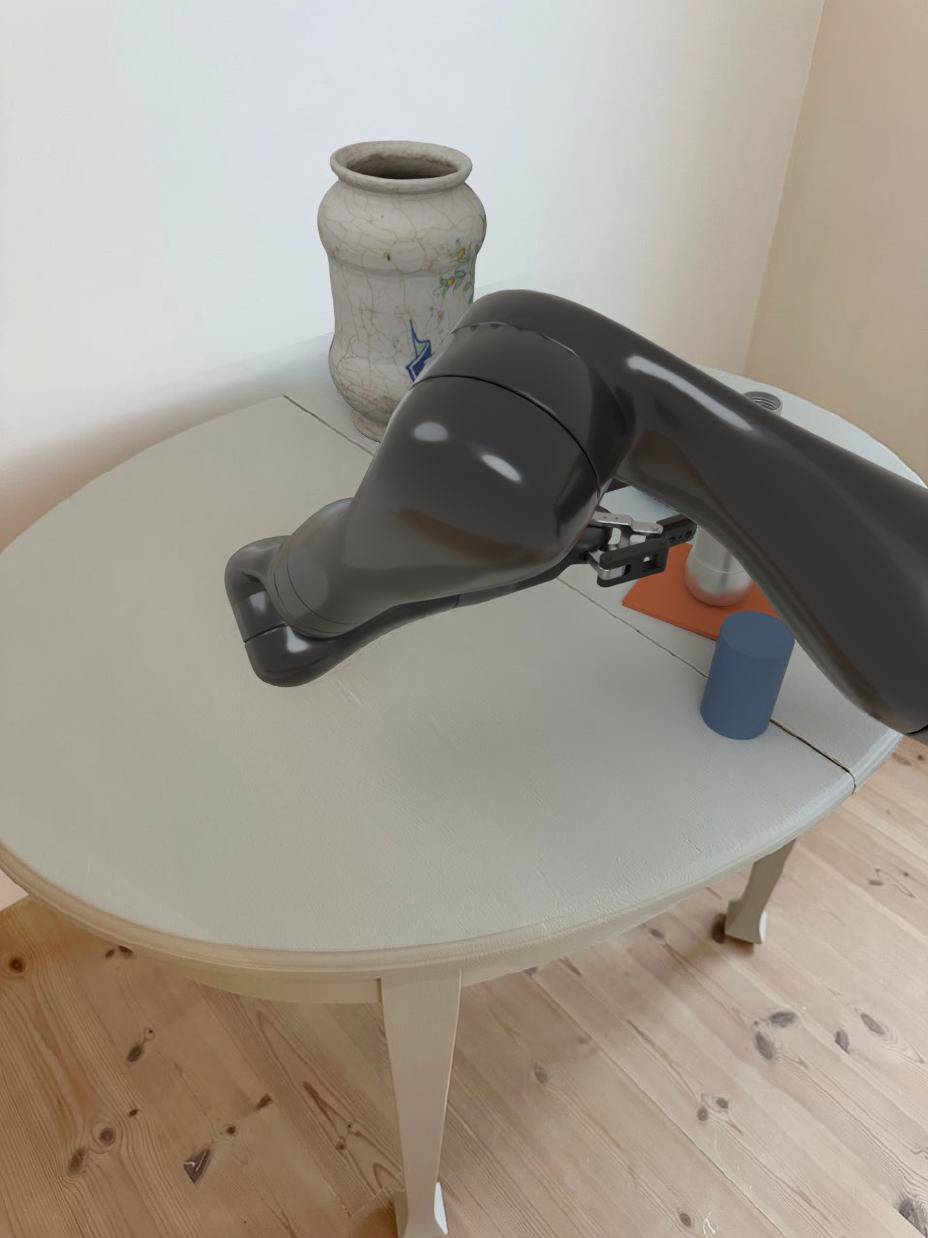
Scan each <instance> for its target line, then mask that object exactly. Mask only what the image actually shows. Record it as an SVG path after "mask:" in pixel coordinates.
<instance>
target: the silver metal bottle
mask: <svg viewBox="0 0 928 1238" xmlns="http://www.w3.org/2000/svg"><path fill="white" fill-rule="evenodd" d="M741 394H742V395H744V396H746V397H747V398H749V399H751V400H753V401H754V402H756V403H758V404H760V405H761V406H763V407H765V408H767V409H769V410H771V411H772V412H774V413H776V414H778V415H780V416H782V415H781V414H782V410H783V403H784V402H783V401H782V400H781V398H780V397H778V396H777V395H775V394H773V393H770V392H767V391H762V390H748V391H744V392H742V393H741ZM692 545H693V547H692V549H691V551H690V553H689V556H688V558H687V561H686V565H685V581H686V584H687V586H688V588H689V590H690V592H691V593H692V594H693V595H694V596H695V597H696V598H697V599H699V600H700V601H702V602H704V603H707V604H710V605H714V606H729V605H733V604H736V603H738V602H739V601H740V600H742V599H743V598H745V597H746V596H747V595H748V593H749V591H750V589H751V587H752V585H753V583H754V581H753V580H752V579H751V577H750V576H749V575H748V573H747V572H746V571H745V569H744V568H743V567H742V566H741V564H740V563H739V562H738V561H737V560H736V559H735V558H734V557H733V556H732V555H731V554H730V553H729V552H728V550H727V549H726V548H725V547H724V546H723V545H722V544H720V543H719V542H718V541H717V540H716V539H715V538H714V537H713V536H711V535H710V534H709V533H708V532H707V531H705V530H704V529H703V528H701V527H700V526H699V527H698V531H697V532H696V537H695V540H694V542H693V544H692Z"/></svg>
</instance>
